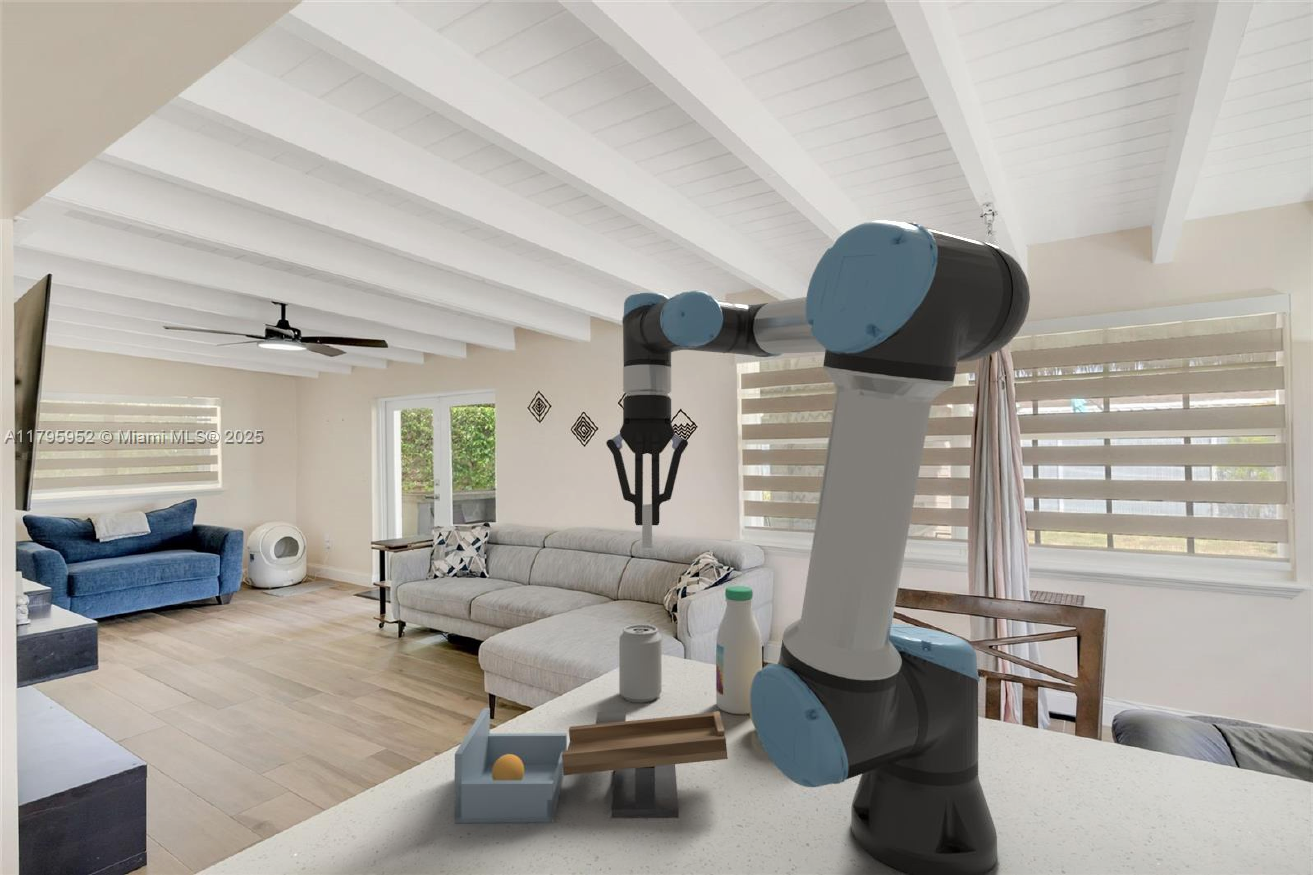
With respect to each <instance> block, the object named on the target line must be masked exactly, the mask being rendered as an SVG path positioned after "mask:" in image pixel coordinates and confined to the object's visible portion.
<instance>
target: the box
mask: <svg viewBox="0 0 1313 875" xmlns="http://www.w3.org/2000/svg"><path fill="white" fill-rule="evenodd" d="M490 713H491V708H490V707H484V708H482V710H481V712H479V715H478V717H477V718H476V720H475V721H474V722H473V725H472V726H471V728H470V729H469V731H468V733H467V734H466V736H465V737H464V738H463V740H462V741H461V743H460V745H459V746H458V748H457V750H455V753H454V818H453V819H454V820H453V821H454V824H479V823H480V824H489V823H490V824H491V823H492V824H494V823H495V824H498V823H502V824H504V823H510V824H511V823H517V824H518V823H519V824H520V823H522V824H523V823H530V824H531V823H535V824H536V823H553V821H554V818H555V813H556V810H557V806H558V802H559V798H560V795H561V790H562V787H563V783H564V779H565V776H566V775H564V774H563V763H562V752H563V751H566V750H568V732H567V733H566V732H562V733H561V732H560V733H559V732H551V733H550V732H548V733H546V732H545V733H543V732H542V733H540V732H537V733H533V732H532V733H530V732H529V733H528V732H527V733H526V732H525V733H521V732H520V733H518V732H517V733H514V732H513V733H507V732H505V733H502V732H501V733H491V732H490V731H491V730H490V728H491V727H490V726H491V724H490V723H491V717H490V716H491V714H490ZM506 754H513V755H516V756H517V757H519V758H520V759H521V761H522V763H523V765H524V775H523V778H522V780H493V778H492V769H493V766H494V764H495V762H496V761H497V760H498V759H499V758H500V757H501V756H503V755H506Z"/></svg>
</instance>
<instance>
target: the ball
mask: <svg viewBox="0 0 1313 875" xmlns="http://www.w3.org/2000/svg"><path fill="white" fill-rule="evenodd" d="M523 775H524V765H523V763H522V761H521V759H520V758H519V757H517V756H516V755H513V754H506V755H503V756H501V757H500V758H499V759H498V760H497V761H496V762H495V764H494V766H493V769H492V778H493V780H522V778H523Z"/></svg>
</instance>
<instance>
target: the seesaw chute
mask: <svg viewBox="0 0 1313 875" xmlns="http://www.w3.org/2000/svg"><path fill="white" fill-rule="evenodd" d="M626 713H627V712H626V708H622V709H621V708H620V709H614V710H613V709H612V710H602V711H597V716H596V718H595V723H593V724H585V725H574V726H573V725H572V726H569V728H568V735H569V743H568V745H567V750H566V751H563V752H562V763H563V774H564V775H565V776H571V775H580V774H591V773H599V772H601V773H602V772H612V771H615V770H622V769H632V768H642V767H652V766H662V765H672V764H675V765H680V764H681V765H682V764H690V763H692V764H693V763H702V762H712V761H721V760H722V761H723V760H728V748H727V737H726V733H725V727H724V724H723V720H722V717H721V713H720V711H713V712H706V713H695V714H685V715H683V714H682V715H675V716H666V717H656V718H655V717H654V718H644V719H643V718H642V719H633V720H626V718H627V714H626Z"/></svg>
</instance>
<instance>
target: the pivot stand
mask: <svg viewBox="0 0 1313 875" xmlns="http://www.w3.org/2000/svg"><path fill="white" fill-rule="evenodd" d="M676 769H677V768H676V764H672V765H662V766H652V767H642V768H632V769H622V770H614V779H613V789H612V797H611V808H610V819H678V818H679V817H680V816H679V813H680V810H679V807H680V806H679V797H678V796H679V795H678V784H677V773H676Z"/></svg>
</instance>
